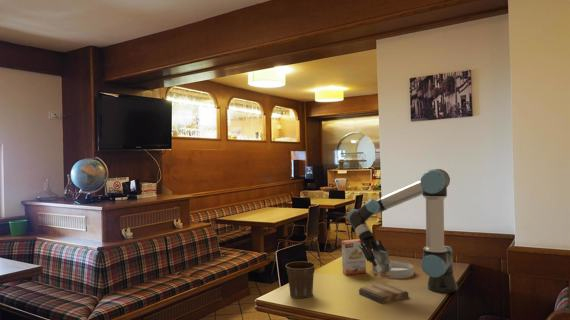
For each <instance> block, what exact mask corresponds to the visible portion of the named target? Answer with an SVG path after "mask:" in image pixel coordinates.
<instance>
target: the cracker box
mask: <svg viewBox="0 0 570 320" xmlns="http://www.w3.org/2000/svg"><path fill="white" fill-rule="evenodd" d="M360 244H361V241H360V239H359V238H357V239H347V240H341V260H342V273H343V274H344V275H345V276H349V275H358V274H366V273H367V263H366V262H367V260H366V258H365V256H364V253H363V251H362V249H361V248H360V247H359V246H360Z"/></svg>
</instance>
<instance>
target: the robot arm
mask: <svg viewBox="0 0 570 320" xmlns="http://www.w3.org/2000/svg"><path fill="white" fill-rule="evenodd" d="M450 183H451V178H450V175H449V173H448V172H447V171H445V170H444V169H441V168H434V169H430V170H429V169H428V170H426V171H425V172H424V173H423V174H422V175H421V177H420V179H419V180H417V181H416V182H413V183H412V184H408V185H407V186H405V187H402V188H400V189H398V190H396V191H394V192H391V193H389V194H386V195H384V196H383V197H379V198H376V199H374V198H370V199H369V200H367V201H366V202H365V203H364V204H363V205H362V206H360V208H358V209H356V208H354V209H352V210H349V211H348V212H347V215H346V216H347V219H348V221H349V223H350V225H351V226H352V228H353V231H354V232H355V234H356V236H357V237H358V239H360V241H361V244H360V246H359V247H360V248H361V249H362V251H363V253H364V256H365V258H366V262H369V263H370V264H373V266H374V267H376V269H377V271H378V273H380V272H381V270H382V269H381V267H380V265H379V264H378V262H377V260H376V259H374V256H373V254H372V252H373V250H374V251H379V250H382V251H386V252H388V251H387V249H386V248H385V246H384V245H383V243H382V240H380V239H379V240H376V239H375V237H374V235H373V233H372V231H371V230H370V228H369V226H368V224H367V223H366V222H367V221H368V220H369V219H370V218H371V217H373V216H374V215H378V214H381V213H383V212H384V211H387V210H389V209H391V208H394V207H396V206H399V205H401V204H404V203H406V202H409V201H411V200H413V199H416V198H417V197H420V196H422V197H423V198H424V199H425V234H426V235H425V237H426V238H425V239H426V240H425V244H426V245H425V246H424V247H423V248H422V252H423V253H422V257H423V258H422V259H421V262H420V265H421V270H422V272H423V273H425V274H426V275H427V276H429V277H428V281H427V285H426V286H427V289H428V290H429V291H432V292H436V293H444V294H445V293H455V292H457V291H458V284H457V282H456V278H455V276H454V264H453V263H454V262H453V261H454V260H453V259H454V258H453V249H452V246H449V245H445V209H444V208H445V206H444V205H445V203H444V201H445V199H446V198H447V197H448V189H447V188H448V187H449V185H450ZM388 256H390V253H388ZM390 262H391V261H389V271H390V270H391V269H392V266H391V265H390Z"/></svg>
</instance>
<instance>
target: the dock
mask: <svg viewBox="0 0 570 320" xmlns="http://www.w3.org/2000/svg"><path fill="white" fill-rule="evenodd" d="M358 294H359V295H361V296H364V297H366V298H368V299H371V300H372V301H375V302H377V303H378V304H379V303H380V304H385V303H386V304H387V303H388V302H393V301H398V300H402V299H405V298H409V292H408V290H404V289H402V288H399V287H396V286H393V285H391V284H388V283H385V282H381V283H376V284H371V285H367V286H362V287H360V288H359V289H358Z"/></svg>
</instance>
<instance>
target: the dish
mask: <svg viewBox="0 0 570 320" xmlns="http://www.w3.org/2000/svg"><path fill="white" fill-rule="evenodd" d="M389 262H390V265H391V266H392V269H391V270H390V272H391V277H386V278H388V279H407V278H410V277H413V276H414V274H415V271H414V265H413V264H411V263H408V262H405V261H389Z"/></svg>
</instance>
